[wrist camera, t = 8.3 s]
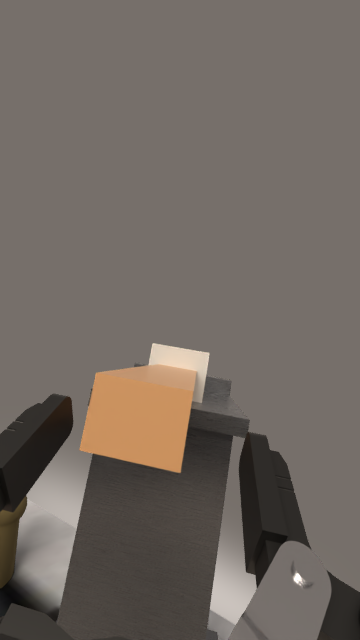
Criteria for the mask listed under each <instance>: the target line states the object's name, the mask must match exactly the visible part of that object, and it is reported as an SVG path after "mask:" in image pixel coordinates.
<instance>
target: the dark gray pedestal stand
mask: <svg viewBox="0 0 360 640" xmlns="http://www.w3.org/2000/svg"><path fill="white" fill-rule="evenodd" d="M141 366H148V365H146V364H140V363H135V365H134V367H141ZM230 389H231V380H228V379H223V378H217V377H211V376H206V379H205V386H204V392H203V399H202V403H199V402H194V401H192V404H191V410H190V416H189V423H188V429H187V435H186V441H185V447H184V454H183V460H182V466H181V472H180V473H178V472H173V471H169V470H164V469H160V468H156V467H151V466H147V465H142V464H138V463H133V462H129V461H125V460H120V459H116V458H111V457H107V456H102V455H98V454H94V453H93V455H92V460H91V465H90V470H89V474H88V479H87V483H86V489H85V493H84V498H83V503H82V507H81V512H80V517H79V522H78V526H77V531H76V535H75V540H74V545H73V550H72V554H71V559H70V564H69V569H68V573H67V578H66V583H65V588H64V592H63V597H62V602H61V607H60V611H59V616H58V619H57V621H56V623H57V624H58V625H59V626H60V627H61V628H62V629H63V630H64V631H65V632H66V633H68V634H69V635H70V636H71V637H72V638H73V639H75V640H92V639H100V638H109V637H117V636H120V637H124V638H127V639H130V640H218V636H217V632H214V631H211V630H207V624H208V617H209V609H210V602H211V595H212V594H211V593H212V587H213V580H214V572H215V564H216V558H217V550H218V542H219V536H220V528H221V521H222V513H223V506H224V499H225V491H226V484H227V477H228V469H229V461H230V454H231V446H232V439H233V436H237V437H242V438H246V434H247V432H248V428H249V421H250V420H249V419H248V418H247V416H246V415H245V414H244V412H242V410H241V409H240V408H239V406H238V405H237V404H236V403H235V402H234V400H233V399H232V398H231V397H230ZM92 390H93V388H92V389H91V393H90V398H89V403H88V406H89V404H90V399H91V395H92Z"/></svg>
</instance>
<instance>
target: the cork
mask: <svg viewBox="0 0 360 640" xmlns="http://www.w3.org/2000/svg"><path fill="white" fill-rule="evenodd" d="M26 506H27V497H26V496H25V497H24V499H23V500H22V501H21V503H20V504H19V506H18V507H17V508H16V510H15V511H14V512H13V513H12V512H9V511H5V510H2V511H1V512H0V588H2V587H3V586H4V585H6V584H7V582H8V581H9V580H10V579H11V577H12V575H13V573H14V565H15V555H16V546H17V537H18V528H19V519H20V518H21V517H22V515H23V514H24V512H25V510H26Z"/></svg>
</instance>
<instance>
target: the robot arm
mask: <svg viewBox="0 0 360 640" xmlns="http://www.w3.org/2000/svg"><path fill="white" fill-rule="evenodd" d="M72 427H73V414H72V401H71V398H70V397H68V396H63V395H58V394H52V395H50V396H49V397H48V398H47V399H46V400H45V401H44V402H43V403H42V404H40V403H38V404H36V405H34V406H32V407H30V408H29V409H27V410H25V411H24V412H23V413H22V414H21V415H20V416H19V417H18V418H17V419H16V421H15V422H13V423H12V424H10V425H9V426H8V428H7V430H4V431H3V432H2V433H1V434H0V512H1V511H2V510H5V511H9V512H12V513H13V512H14V511H15V510H16V508H17V507H18V506H19V504H20V503H21V501H22V500H23V499H24V497H25V496H26V494H27V493H28V492H29V490H30V489H31V488H32V486H33V485H34V483H35V482H36V481H37V479H38V478H39V476H40V475H41V474H42V472H43V471H44V470H45V468H46V467H47V465H48V464H49V463H50V461H51V460H52V458H53V457H54V456H55V454H56V453H57V452H58V450H59V449H60V447H61V446H62V445H63V443H64V442H65V440H66V439H67V438H68V436H69V435H70V433H71V430H72ZM239 478H240V494H241V508H242V522H243V536H244V549H245V563H246V572H247V573H251V574H254V575H256V584H257V590H256V592H255V594H254V596H253V598H252V599H251V601H250V603H249V605H248V607H247V608H246V610H245V612H244V613H243V614H242V616H241V617H240V619H239V621H238V623H237V624H236V626H235V628H234V630H233V632H232V633H231V635H230V637H229V639H228V640H360V592H358V591H356V590H355V589H353V588H351V587H350V586H348V585H347V584H345V583H344V582H342V581H340V580H339V579H337V578H336V577H334V576H333V575H332V574H331V573H330V572H328V571H327V570H326V569H325V567H324V565H323V563H322V562H321V560H320V559H319V558H318V556H317V555H316V554H315V553H314V552H313V551H312V550H311V547H310V545H309V543H308V540H307V536H306V532H305V529H304V525H303V522H302V518H301V514H300V511H299V507H298V503H297V500H296V496H295V493H294V489H293V485H292V481H291V478H290V474H289V470H288V466H287V464H286V462H285V461H284V459H283V458H282V456H281V455H280V453H279V452H276V451H271V450H270V449H269V444H268V440H267V437H266V435H260V434H256V433H251V432H247V434H246V438H245V442H244V445H243V449H242V452H241V456H240V462H239ZM0 640H75V639H73V638H72V637H71V636H70V635H69V634H68V633H66V632H65V631H64V630H63V629H62V628H61V627H60V626H59V625H58V624H57V623H55V622H54V621H53V620H52V619H51V618H50V617H49V616H48V615H47V614H45V613H42V612H39V611H35V610H32V609H29V608H26V607H22V606H19V605H16V604H13V603H12V604H11V605H10V607H9V609H8V611H7V613H6V614H5V616H3V617H0ZM92 640H130V639H127V638H124V637H120V636H117V637H109V638H100V639H92Z"/></svg>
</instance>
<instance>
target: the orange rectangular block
mask: <svg viewBox="0 0 360 640" xmlns="http://www.w3.org/2000/svg"><path fill="white" fill-rule="evenodd" d="M208 359H209V353H206V352H200V351H194V350H188V349H182V348H177V347H171V346H165V345H160V344H152V350H151V355H150V361H149V365H148V366H141V367H134V368H127V369H119V370H112V371H105V372H98V373H96V376H95V381H94V386H93V390H92V395H91V399H90V404H89V408H88V413H87V418H86V422H85V427H84V431H83V436H82V440H81V445H80V449H79V450H80V451H85V452H90V453H94V454H98V455H102V456H107V457H111V458H116V459H120V460H125V461H129V462H133V463H138V464H142V465H147V466H151V467H156V468H160V469H164V470H169V471H173V472H178V473H180V472H181V466H182V460H183V454H184V447H185V441H186V435H187V429H188V423H189V416H190V410H191V404H192V401H194V402H199V403H202V399H203V392H204V386H205V379H206V373H207V366H208Z"/></svg>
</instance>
